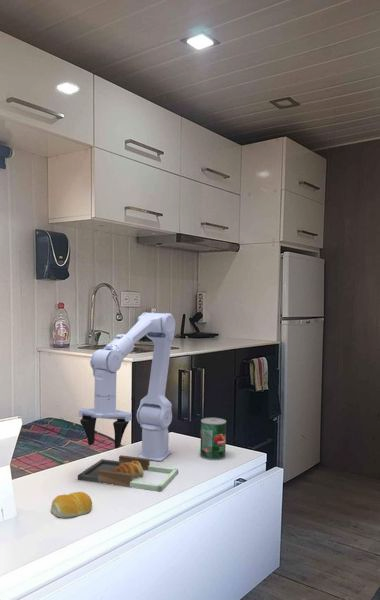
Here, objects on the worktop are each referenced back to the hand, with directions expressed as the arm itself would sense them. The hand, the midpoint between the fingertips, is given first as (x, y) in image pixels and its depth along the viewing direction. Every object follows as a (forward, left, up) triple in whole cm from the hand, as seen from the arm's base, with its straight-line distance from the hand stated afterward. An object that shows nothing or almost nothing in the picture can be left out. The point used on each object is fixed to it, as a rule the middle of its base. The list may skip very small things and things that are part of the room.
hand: (104, 445), depth 132 cm
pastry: (-4, +5, -10) cm, 12 cm away
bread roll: (+20, +2, -10) cm, 22 cm away
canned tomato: (-29, +23, -9) cm, 38 cm away
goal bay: (-4, +13, -9) cm, 16 cm away
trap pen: (-4, -3, -9) cm, 11 cm away
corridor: (-4, +4, -9) cm, 11 cm away
